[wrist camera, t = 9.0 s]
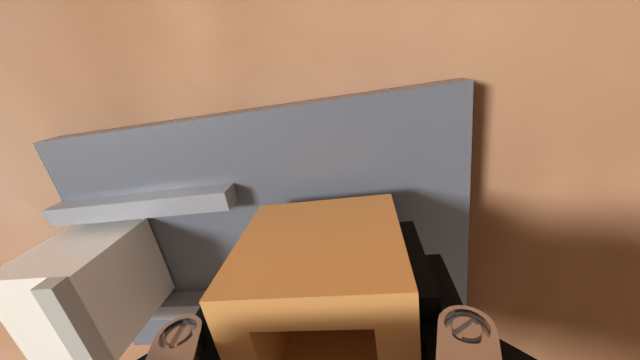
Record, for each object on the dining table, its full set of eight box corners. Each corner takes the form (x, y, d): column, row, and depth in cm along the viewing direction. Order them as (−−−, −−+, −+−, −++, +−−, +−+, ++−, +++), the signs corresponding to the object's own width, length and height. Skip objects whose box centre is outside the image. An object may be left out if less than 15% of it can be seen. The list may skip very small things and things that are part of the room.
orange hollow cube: (390, 193, 11) (418, 292, 6) (398, 300, 13) (425, 438, 8) (260, 205, 12) (198, 301, 7) (285, 305, 13) (249, 433, 9)
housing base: (462, 78, 11) (541, 90, 7) (457, 318, 16) (504, 433, 11) (58, 136, 14) (-95, 176, 9) (148, 327, 18) (74, 422, 13)
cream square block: (146, 217, 14) (53, 288, 9) (174, 287, 15) (105, 376, 11) (71, 224, 14) (-48, 294, 10) (105, 291, 16) (13, 376, 11)
